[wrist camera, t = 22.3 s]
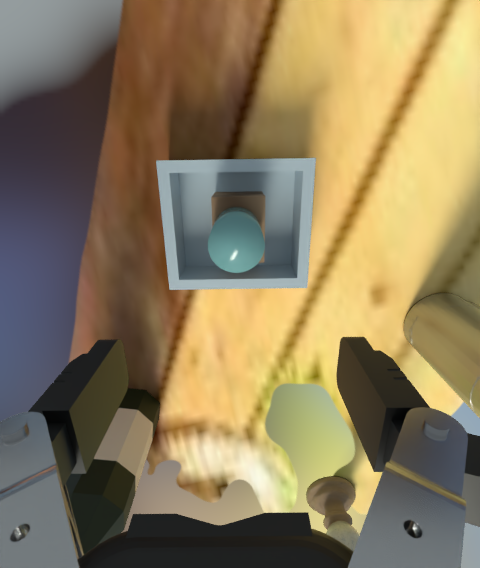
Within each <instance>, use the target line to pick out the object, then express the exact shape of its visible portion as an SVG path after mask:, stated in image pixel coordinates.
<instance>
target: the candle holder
mask: <svg viewBox="0 0 480 568" xmlns="http://www.w3.org/2000/svg"><path fill="white" fill-rule="evenodd" d="M355 496H356V494H355V490H354V488H353V486H352V484H351V483H350V482H349V481H347V480H346V479H344V478H341V477H335V476H331V477H324V478H321V479H318V480H316V481H315V482H313V483H312V484H311V485H310V486H309V488H308V490H307V493H306V498H307V502H308V504H309V506H310V507H311V508H312V509H313V510H315V511H317V512H318V513H320V514H322V515H325V518H324V522H323V523H324V526H325V528H326V529H327V533H326V534H327V535H329V536H331V537H333V538H335V539H336V540H338V541H340V542H341V543H343V544H344V545H346V546H347V547H348V548H350V549H351V550H352V551H353V552H354V549H355V547H356V544H357V541H358V538H359V534H358V533H357V531H356V530H355V529H354V528H353V527H352V526H351V525H352V518H351V516H350V515H349V514H347V512H346V511H347V510H348V509H349V508H350V507H351V505H352V504H353V502H354V500H355Z"/></svg>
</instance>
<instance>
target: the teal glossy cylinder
mask: <svg viewBox="0 0 480 568" xmlns="http://www.w3.org/2000/svg"><path fill="white" fill-rule="evenodd" d="M264 249H265V241H264V237H263V233H262V230H261V227H260V223H259V221H258V219H257V217H256V216H255V215H254V214H253V213H252V212H251V211H249V210H248V209H246V208H242V207H231V208H228V209H226V210H224V211H223V212H221V213H220V214H219V215H218V217H217V218H216V220H215V222H214V225H213V228H212V230H211V233H210V235H209V239H208V251H209V255H210V257H211V259H212V260H213V262H214V263H215V264H216V265H217V266H218V267H220V268H221V269H223V270H225V271H228V272H232V273H241V272H245V271H248V270H250V269H252V268H253V267H255V266H256V265H257V264H258V263H259V261H260V260H261V258H262V256H263V254H264Z"/></svg>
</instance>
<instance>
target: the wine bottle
mask: <svg viewBox="0 0 480 568" xmlns="http://www.w3.org/2000/svg"><path fill="white" fill-rule="evenodd" d="M159 409H160V403H159V402H158V401H157V400H156V399H155V398H154V397H153V396H151V395H150V394H149V393H148V392H147V391H146V390H138V389H128V388H127V392H126V394H125V396H124V398H123V400H122V402H121V404H120V406H119V408H118V410H117V412H116V414H115V416H114V418H113V420H112V422H111V424H110V426H109V428H108V430H107V432H106V434H105V436H104V438H103V440H102V442H101V445H100V447H99V449H98V451H97V453H96V455H95V457H94V459H93V461H92V463H91V465H90V467H89V469H88V471H87V473H86V474H70V476H69V478H68V480H67V482H66V487H67V491H68V495H69V498H70V502H71V506H72V510H73V514H74V518H75V522H76V526H77V530H78V534H79V538H80V542H81V545H82V549H83V553H84V554H86V553H87V552H88V551H90V550H91V549H92V548H94V547H95V546H97V545H98V544H100V543H102V542H103V541H105V540H107V539H109V538H111V537H113V536H115V535H118V534H120V533H121V532H122V531H123V530H124V528H125V524H126V521H127V518H128V515H129V512H130V508H131V506H132V502H133V499H134V496H135V492H136V490H137V487H138V483H139V480H140V477H141V474H142V471H143V468H144V464H145V461H146V458H147V455H148V452H149V449H150V446H151V442H152V439H153V436H154V433H155V430H156V427H157V423H158V420H159Z"/></svg>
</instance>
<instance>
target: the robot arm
mask: <svg viewBox="0 0 480 568" xmlns="http://www.w3.org/2000/svg"><path fill="white" fill-rule="evenodd" d="M404 334H405V337H406V339H407V340H408V342H409V343H410V344H411V345H412V346H413V347H414V348H415V349H416V350H417V351H418V353H419V354H420V355H421V356H422V357H423V358H424V359H425V360H426V361H427V362H428V363H429V365H430V366H431V367H432V368H433V369H434V370H435V371H436V372H437V373H438V374H439V375H440V376H441V377H442V378H443V380H444V381H445V382H446V383H447V384H448V385H449V386H450V387H451V388H452V389H453V390H454V391H455V392H456V393H457V395H458V396H459V397H460V398H461V399H462V400H463V401H464V402H465V403H466V404H467V405H468V406H469V407H470V409H472V411H473V412H474V413H475V414H476V415H477V416H478V417H479V418H480V306H478V305H476V304H475V303H473V302H467V301H465V300H464V299H462V298H461V297H459V296H456V295H454V294H450V293H438V294H433V295H430V296H428V297H425V298H424V299H422V300H420V301H419V302H418V303H416V304H415V305H414V306H413V307H412V308H411V310H410V311H409V312H408V314H407V316H406V318H405V322H404ZM128 383H129V375H128V369H127V363H126V357H125V352H124V346H123V343H122V341H121V340H98V341H97V342H96V343H95V345H94V346H93V347H92V348H91V350H90V351H89V352H88V353H87V354H82V355H80V356H79V357H77V358H76V359H74V360H73V361H71V362H70V363H69V364H68V365H67V366H66V368H65V369H64V370H63V371H62V373H61V374H60V375H59V376H58V377H57V378H56V380H55V381H54V383H52V384H51V385H50V386H49V388H48V389H47V390H46V391H45V392H44V394H43V395H42V396H41V397H40V398H39V399H38V401H37V402H36V403H35V404H34V405H33V407H32V408H31V409H30V410H29V411H28V412H24V413H20V414H17V415H14V416H11V417H9V418H7V419H5V420H3V421H2V422H0V568H461V557H462V547H463V536H464V525H465V523H469V524H472V525H475V526H478V527H480V436H477V435H472V434H469V433H467V432H466V431H465V429H464V428H463V426H462V425H461V424H460V423H459V422H458V421H456V420H455V419H454V418H452V417H451V416H449V415H447V414H446V413H443V412H441V411H439V410H436V409H432V408H430V407H429V406H428V404H427V403H426V402H425V400H424V399H423V398H422V397H421V395H420V394H419V393H418V391H417V390H416V389H415V387H414V386H413V385H412V384H411V382H410V381H409V380H407V377H406V376H405V375H404V373H403V372H402V371H400V368H399V367H398V365H397V364H396V363H395V362H394V360H393V359H392V358H390V357H389V356H387V355H386V354H384V353H383V352H382V351H374V350H373V348H372V347H371V346H370V344H369V343H368V341H367V340H366V339H365V338H364V337H342V339H341V341H340V349H339V357H338V366H337V385H338V389H339V392H340V394H341V396H342V399H343V401H344V403H345V406H346V408H347V410H348V413H349V415H350V417H351V419H352V422H353V424H354V426H355V429H356V431H357V433H358V436H359V438H360V440H361V443H362V445H363V447H364V450H365V452H366V454H367V457H368V459H369V461H370V464H371V466H372V468H373V471H374V472H383V473H382V476H381V478H380V481H379V484H378V487H377V489H376V492H375V495H374V498H373V500H372V503H371V506H370V508H369V511H368V514H367V517H366V519H365V522H364V525H363V528H362V531H361V533H360V536H359V538H358V541H357V544H356V547H355V549H354V552H353V551H352V550H351V549H350V548H348V547H347V546H346V545H344V544H343V543H341V542H340V541H338V540H336V539H335V538H333V537H331V536H329V535H327V534H325V533H322V532H320V531H317V530H314V529H311V525H310V520H309V515H308V513H263V514H260V515H256V516H253V517H250V518H246V519H243V520H240V521H236V522H233V523H229V524H226V525H221V526H218V525H213V524H210V523H206V522H203V521H199V520H196V519H192V518H188V517H185V516H181V515H178V514H133V516H132V519H131V523H130V526H129V529H128V531H126V532H123V533H120V534H118V535H115V536H113V537H111V538H109V539H107V540H105V541H103V542H102V543H100V544H98V545H97V546H95V547H94V548H92V549H91V550H90V551H88V552H87V553H86V554H84V553H83V549H82V545H81V542H80V538H79V534H78V530H77V526H76V522H75V518H74V514H73V510H72V506H71V502H70V498H69V495H68V491H67V487H66V482H67V480H68V478H69V476H70V474H86V473H87V471H88V469H89V467H90V465H91V463H92V461H93V459H94V457H95V455H96V453H97V451H98V449H99V447H100V445H101V442H102V440H103V438H104V436H105V434H106V432H107V430H108V428H109V426H110V424H111V422H112V420H113V418H114V416H115V414H116V412H117V410H118V408H119V406H120V404H121V402H122V400H123V398H124V396H125V394H126V392H127V388H128Z"/></svg>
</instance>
